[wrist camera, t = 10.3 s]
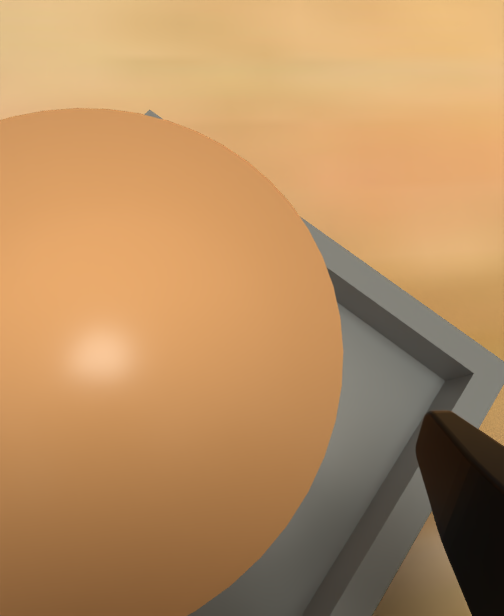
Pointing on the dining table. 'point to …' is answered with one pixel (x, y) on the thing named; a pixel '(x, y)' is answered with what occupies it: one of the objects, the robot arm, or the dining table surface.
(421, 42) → the dining table surface
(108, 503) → the peach joystick knob
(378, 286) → the grey square tray
